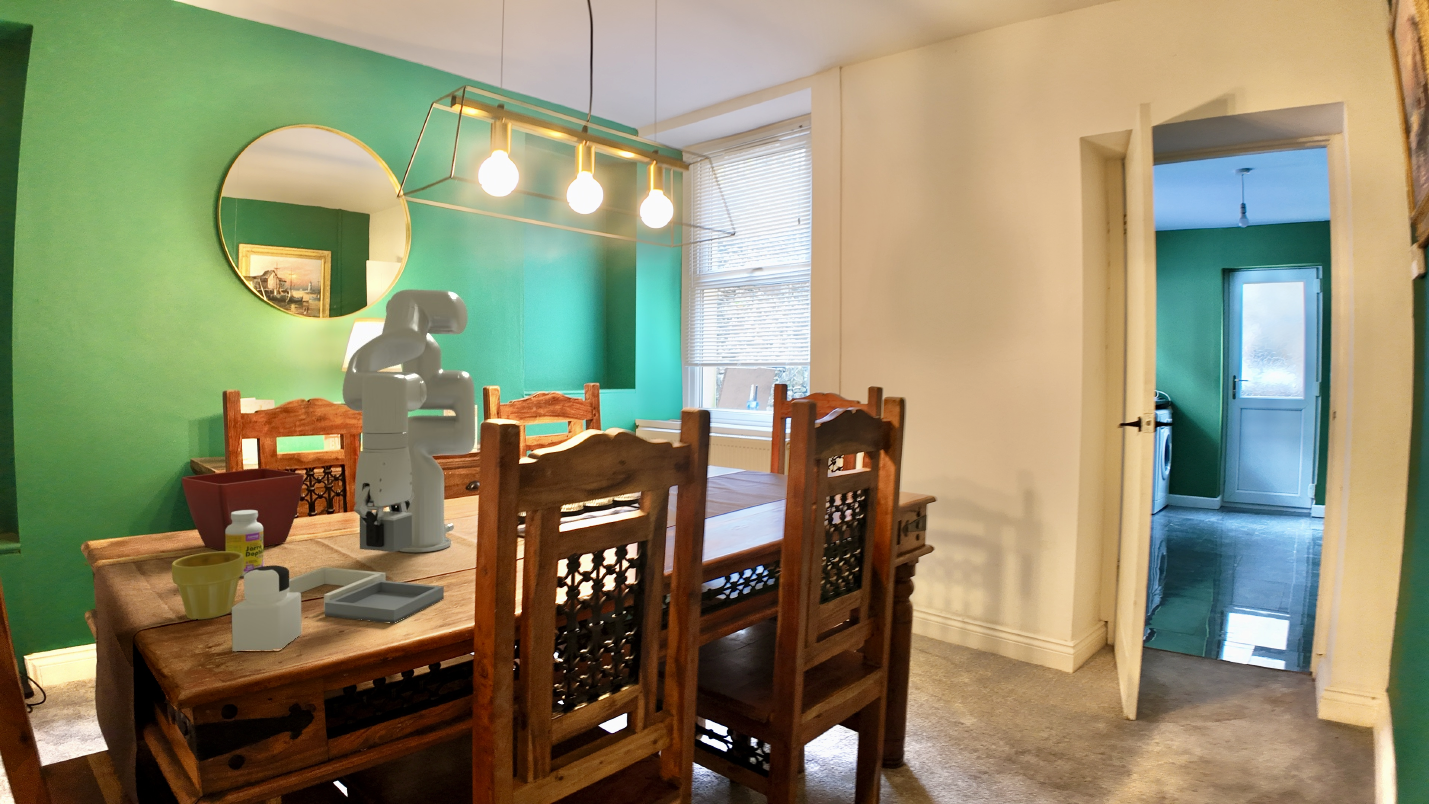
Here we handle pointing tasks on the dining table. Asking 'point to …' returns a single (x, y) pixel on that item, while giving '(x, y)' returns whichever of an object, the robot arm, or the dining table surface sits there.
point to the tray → (384, 601)
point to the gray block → (391, 531)
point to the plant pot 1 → (243, 502)
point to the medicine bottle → (266, 611)
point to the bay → (334, 580)
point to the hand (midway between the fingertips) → (386, 541)
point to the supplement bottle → (246, 538)
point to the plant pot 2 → (208, 582)
